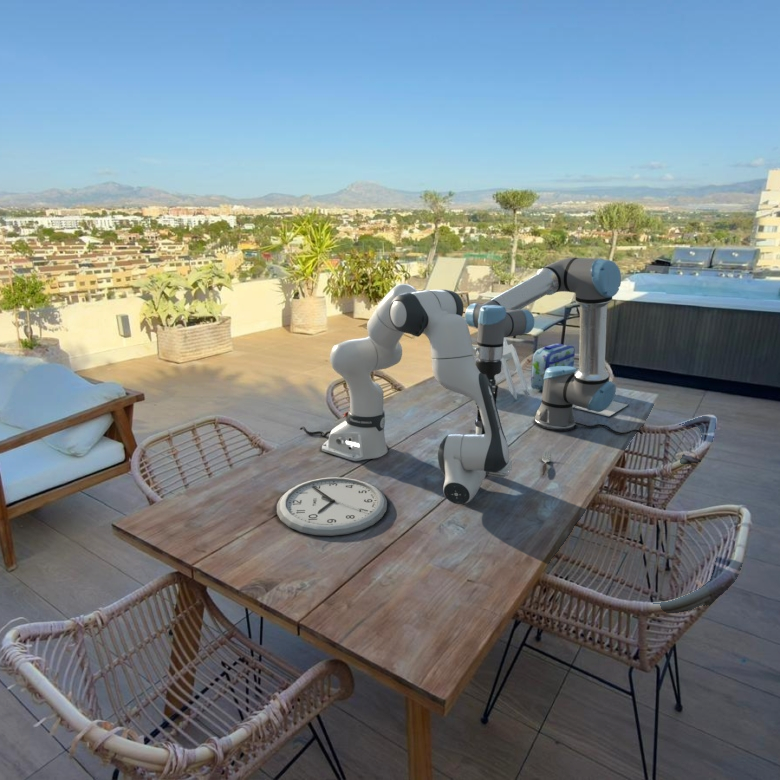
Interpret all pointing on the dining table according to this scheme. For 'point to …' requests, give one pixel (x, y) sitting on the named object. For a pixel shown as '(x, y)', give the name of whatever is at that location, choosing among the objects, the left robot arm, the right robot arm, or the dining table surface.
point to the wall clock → (331, 506)
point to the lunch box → (550, 361)
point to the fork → (545, 461)
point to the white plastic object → (508, 354)
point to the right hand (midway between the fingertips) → (483, 432)
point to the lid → (478, 422)
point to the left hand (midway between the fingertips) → (482, 451)
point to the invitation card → (607, 409)
